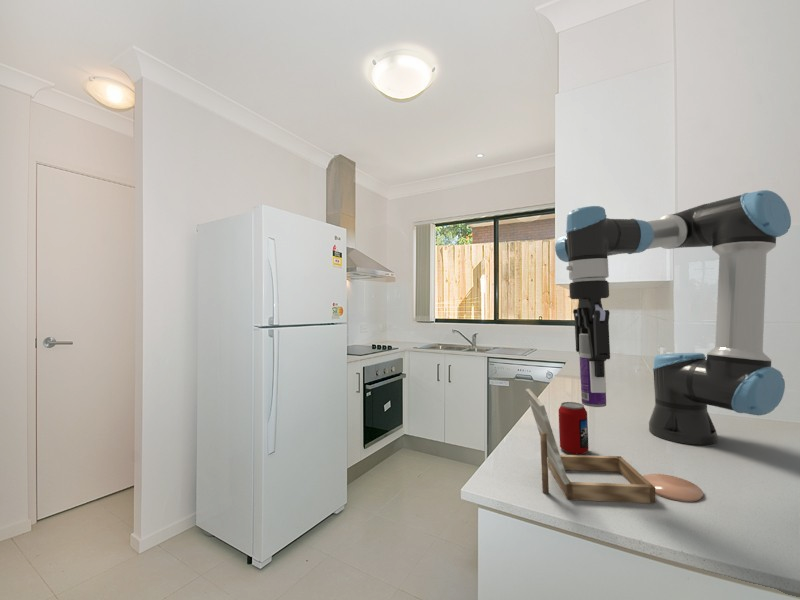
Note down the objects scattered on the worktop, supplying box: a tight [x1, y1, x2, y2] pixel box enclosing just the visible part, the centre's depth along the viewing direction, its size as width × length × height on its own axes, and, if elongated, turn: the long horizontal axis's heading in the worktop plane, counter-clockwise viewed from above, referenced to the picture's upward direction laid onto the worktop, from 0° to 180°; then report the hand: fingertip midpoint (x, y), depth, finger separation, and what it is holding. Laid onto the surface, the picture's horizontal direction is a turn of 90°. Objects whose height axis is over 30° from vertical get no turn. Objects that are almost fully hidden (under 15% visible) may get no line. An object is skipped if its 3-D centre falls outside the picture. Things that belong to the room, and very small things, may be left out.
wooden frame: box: [525, 388, 657, 504], centre depth 77 cm, size 20×14×19 cm
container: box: [578, 333, 607, 408], centre depth 77 cm, size 5×5×15 cm
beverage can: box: [558, 401, 589, 455], centre depth 93 cm, size 7×7×12 cm
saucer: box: [642, 473, 704, 503], centre depth 73 cm, size 10×10×1 cm
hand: (593, 388), depth 77 cm, fingers closed on container, 5 cm apart
